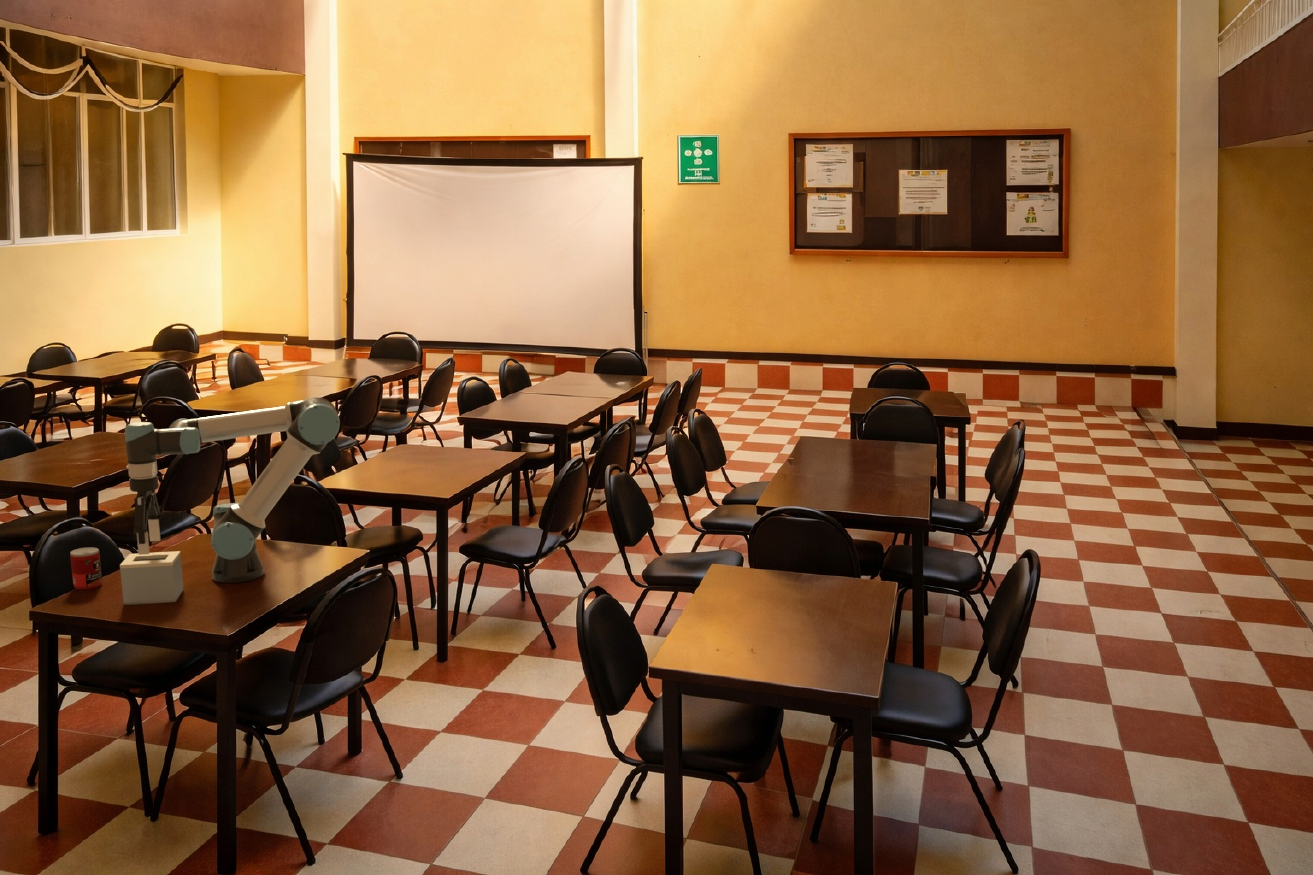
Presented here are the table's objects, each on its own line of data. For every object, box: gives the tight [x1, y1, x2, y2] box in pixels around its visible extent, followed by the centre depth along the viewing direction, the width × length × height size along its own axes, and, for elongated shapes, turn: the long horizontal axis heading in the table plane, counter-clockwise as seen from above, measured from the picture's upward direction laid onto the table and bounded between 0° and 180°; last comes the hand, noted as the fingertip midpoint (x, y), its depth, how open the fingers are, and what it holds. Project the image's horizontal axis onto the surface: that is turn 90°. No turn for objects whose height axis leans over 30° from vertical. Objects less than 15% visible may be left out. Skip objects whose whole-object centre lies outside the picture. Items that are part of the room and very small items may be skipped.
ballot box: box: [119, 550, 184, 606], centre depth 320 cm, size 14×11×12 cm
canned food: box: [69, 546, 103, 591], centre depth 330 cm, size 8×8×11 cm
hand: (149, 547), depth 318 cm, fingers open, 13 cm apart
